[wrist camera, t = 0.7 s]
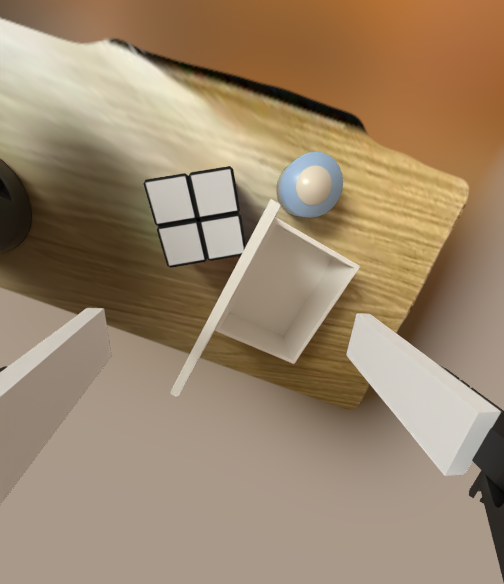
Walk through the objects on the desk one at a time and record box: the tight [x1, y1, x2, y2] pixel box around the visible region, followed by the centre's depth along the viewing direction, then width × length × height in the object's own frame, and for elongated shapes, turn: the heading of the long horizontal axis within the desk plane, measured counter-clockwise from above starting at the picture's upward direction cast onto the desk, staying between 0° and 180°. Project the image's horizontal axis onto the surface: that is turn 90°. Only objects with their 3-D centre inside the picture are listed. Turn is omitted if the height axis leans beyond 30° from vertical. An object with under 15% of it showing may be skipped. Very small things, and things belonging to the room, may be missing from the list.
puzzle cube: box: [143, 166, 246, 268], centre depth 32 cm, size 10×10×10 cm
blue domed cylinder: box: [277, 152, 343, 218], centre depth 33 cm, size 8×8×6 cm
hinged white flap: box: [170, 199, 281, 397], centre depth 25 cm, size 14×18×1 cm
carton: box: [215, 217, 360, 364], centre depth 37 cm, size 14×18×8 cm
